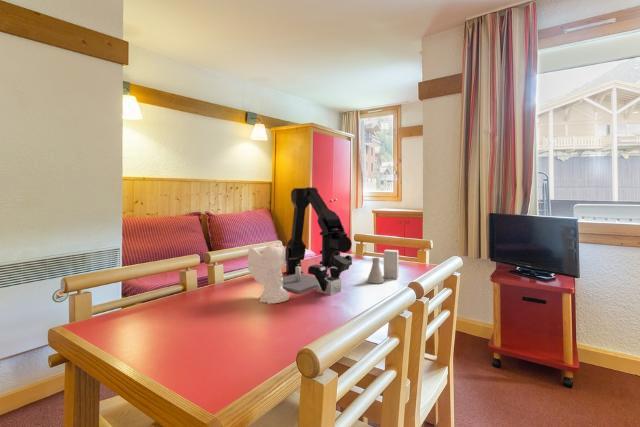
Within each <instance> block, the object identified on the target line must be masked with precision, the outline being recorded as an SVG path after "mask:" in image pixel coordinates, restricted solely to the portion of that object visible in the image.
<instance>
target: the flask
mask: <svg viewBox="0 0 640 427" xmlns="http://www.w3.org/2000/svg"><path fill="white" fill-rule="evenodd" d="M371 260H372V265H371V269H370V272H369V274H368V277H367V279H366V282H368V284H375V285H376V284H383V283H384V282H385V278H384V275H383V274H382V271H381V267H380V260H381V258H380V257H372V258H371Z"/></svg>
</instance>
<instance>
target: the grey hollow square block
mask: <svg viewBox="0 0 640 427" xmlns="http://www.w3.org/2000/svg"><path fill="white" fill-rule="evenodd" d="M316 288H317V289H316V290H317V293H320V294H324V295H328V296H332V295H335V294H337V293H340V292H342V278H341V277H339V278H337V277H333V276H331V275H329V276H328V277H327V278H326V289H325V291H322V289H321V287H320V284H319V282H318V285H317V287H316Z"/></svg>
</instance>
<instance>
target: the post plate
mask: <svg viewBox="0 0 640 427" xmlns="http://www.w3.org/2000/svg"><path fill="white" fill-rule="evenodd" d="M295 269H296V274H293V275H290V274H289V275H287V276H284V277H283V276H282V277H283V281H282V282H283V285H282V287H283V289H284V290H286V291H287V292H288V291H289V292H293V293H297V294H303V293H305V292H308V291H311V290H313V289H316V288H317V285H318V280H317V279H316V277H315V276H309V275H305V274H303V273H301V271H302V266H301V267H300V266H296V267H295Z"/></svg>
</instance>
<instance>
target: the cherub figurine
mask: <svg viewBox="0 0 640 427" xmlns="http://www.w3.org/2000/svg"><path fill="white" fill-rule="evenodd" d="M285 250H286V247H285V246H284V245H283V244H281V243H279V242H278V243H277V242H276V241H275V242H272V243H271V244H269V245H267V246H266V247H265V248H264V249H263V250H262V253H261V252H260V251H258V250H257V249H256V248H254V247H251V246H250V247H249V248H248V251H247V256H248V257H247V260H246V262H247V265H248V267H247V269H248V271H249V273H250V275H251V276H252V277H253V278H254V279H253V280H255V281H256V282H257V283H258V284H260V285H263V286H264V289H263V291H262V293H261V294H260V300H259V303H265V304H268V305H271V304H278V303H280V304H281V303H283V302H286V301H289V300H290V293H288V290H285V289H283V287H282V285H283V282H282V281H283V273H282V269H283V268H284V267H286V266H285V265H286V261H285V258H286V257H285V253H286V251H285Z"/></svg>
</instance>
